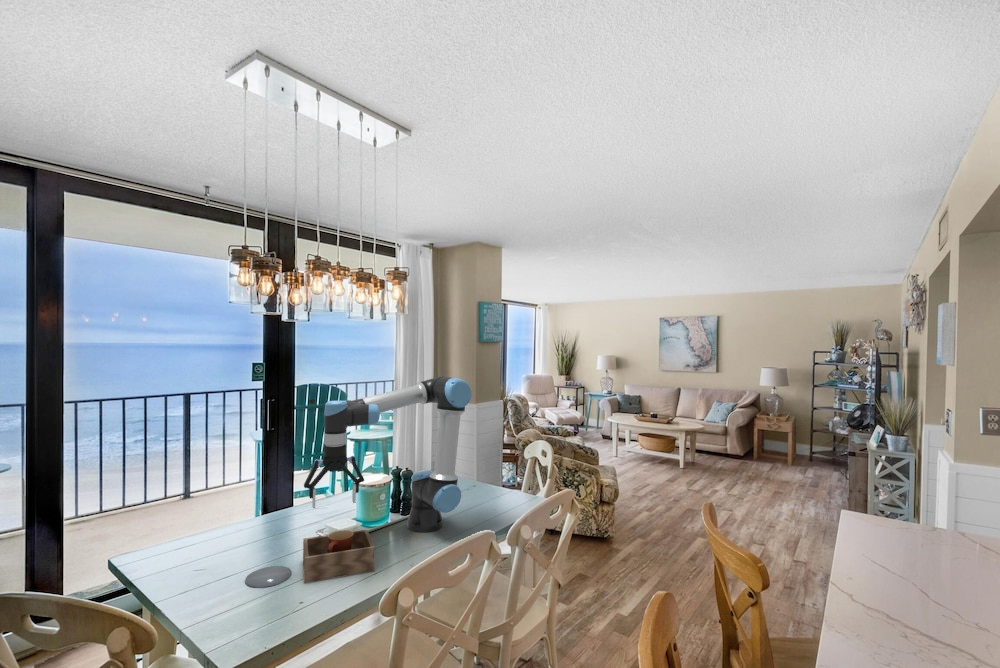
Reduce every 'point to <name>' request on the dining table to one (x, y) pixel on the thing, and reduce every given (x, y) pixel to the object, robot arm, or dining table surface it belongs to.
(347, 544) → the mug
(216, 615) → the dining table surface
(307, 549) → the box
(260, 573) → the coaster
